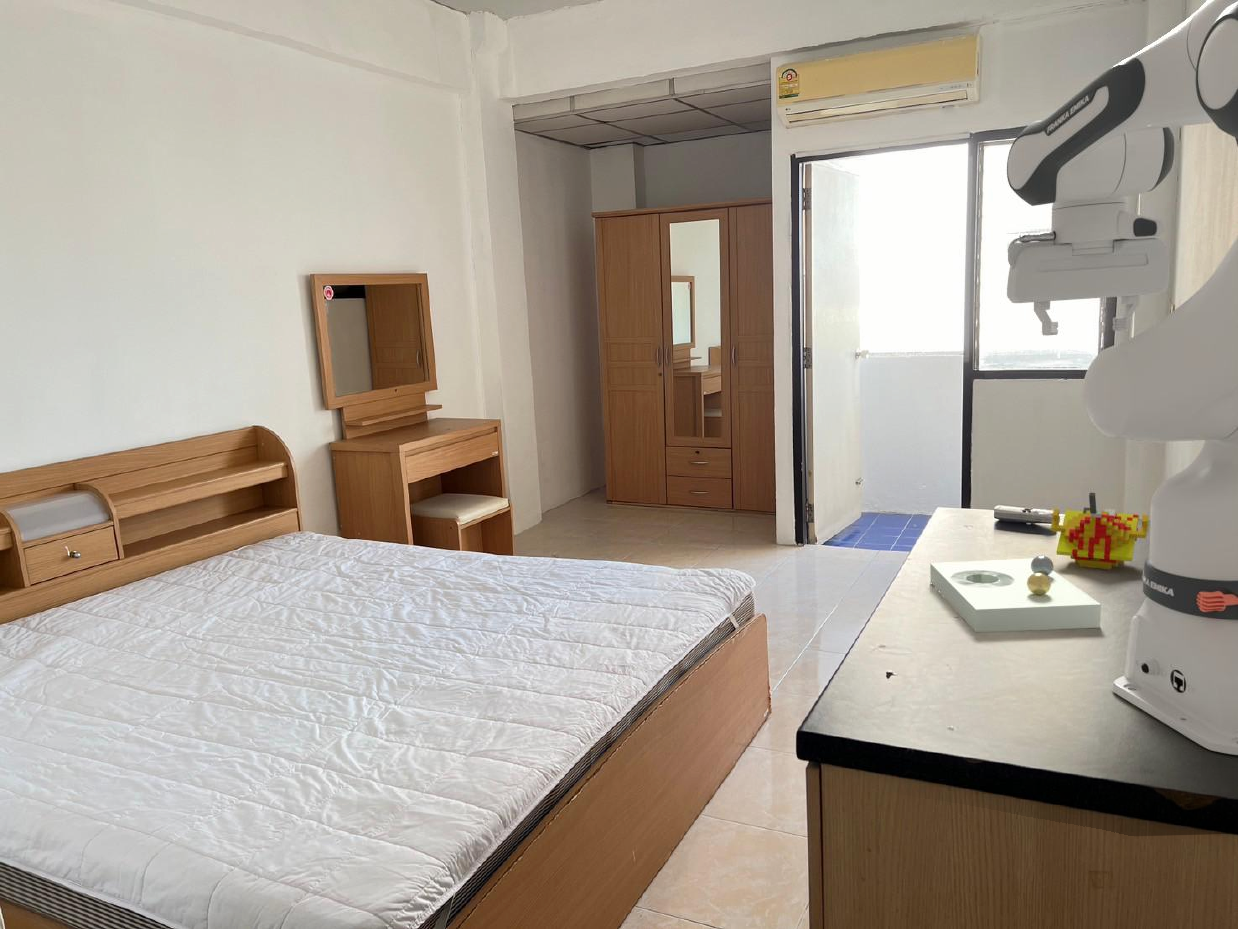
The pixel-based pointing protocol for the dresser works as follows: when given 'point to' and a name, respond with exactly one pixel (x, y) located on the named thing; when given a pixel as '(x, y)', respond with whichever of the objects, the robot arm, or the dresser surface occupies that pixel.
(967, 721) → the dresser surface
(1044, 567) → the ball
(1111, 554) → the toy
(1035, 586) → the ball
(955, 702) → the dresser surface
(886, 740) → the dresser surface
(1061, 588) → the board
